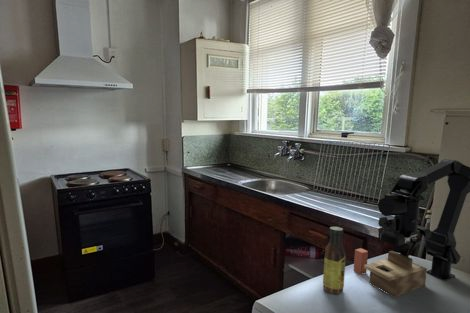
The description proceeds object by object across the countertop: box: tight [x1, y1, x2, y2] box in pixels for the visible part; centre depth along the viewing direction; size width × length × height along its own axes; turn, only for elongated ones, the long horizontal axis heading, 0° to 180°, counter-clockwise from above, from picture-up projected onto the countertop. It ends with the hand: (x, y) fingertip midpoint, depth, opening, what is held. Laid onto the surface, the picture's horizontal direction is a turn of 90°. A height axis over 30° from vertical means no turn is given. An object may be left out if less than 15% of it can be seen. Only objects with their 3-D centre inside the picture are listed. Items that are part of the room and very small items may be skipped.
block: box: [353, 247, 369, 275], centre depth 108 cm, size 3×3×8 cm
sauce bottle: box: [322, 226, 346, 295], centre depth 94 cm, size 7×6×20 cm
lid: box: [364, 250, 421, 281], centre depth 97 cm, size 16×9×4 cm, turn 118°
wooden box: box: [368, 261, 428, 298], centre depth 99 cm, size 16×9×6 cm, turn 118°
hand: (403, 259), depth 100 cm, fingers closed
